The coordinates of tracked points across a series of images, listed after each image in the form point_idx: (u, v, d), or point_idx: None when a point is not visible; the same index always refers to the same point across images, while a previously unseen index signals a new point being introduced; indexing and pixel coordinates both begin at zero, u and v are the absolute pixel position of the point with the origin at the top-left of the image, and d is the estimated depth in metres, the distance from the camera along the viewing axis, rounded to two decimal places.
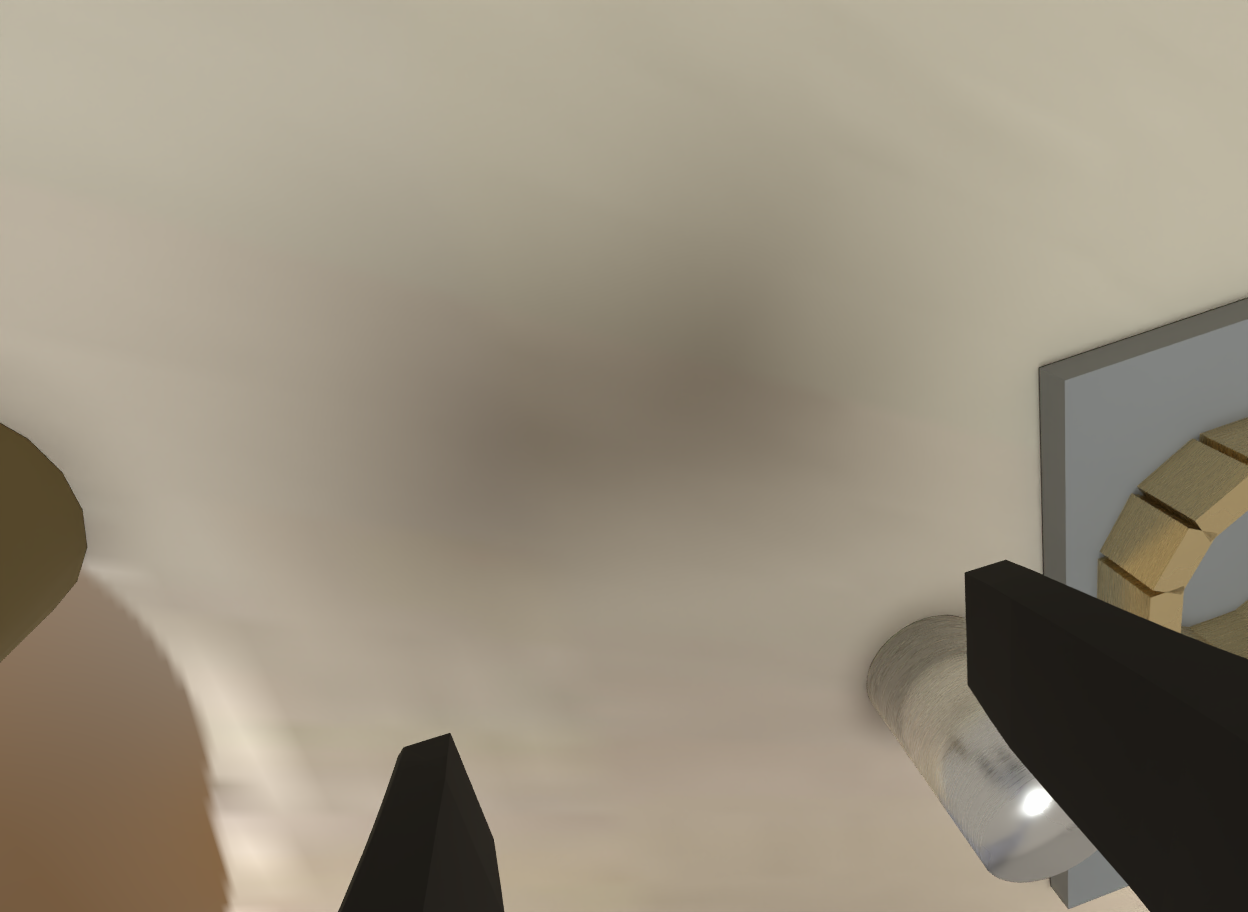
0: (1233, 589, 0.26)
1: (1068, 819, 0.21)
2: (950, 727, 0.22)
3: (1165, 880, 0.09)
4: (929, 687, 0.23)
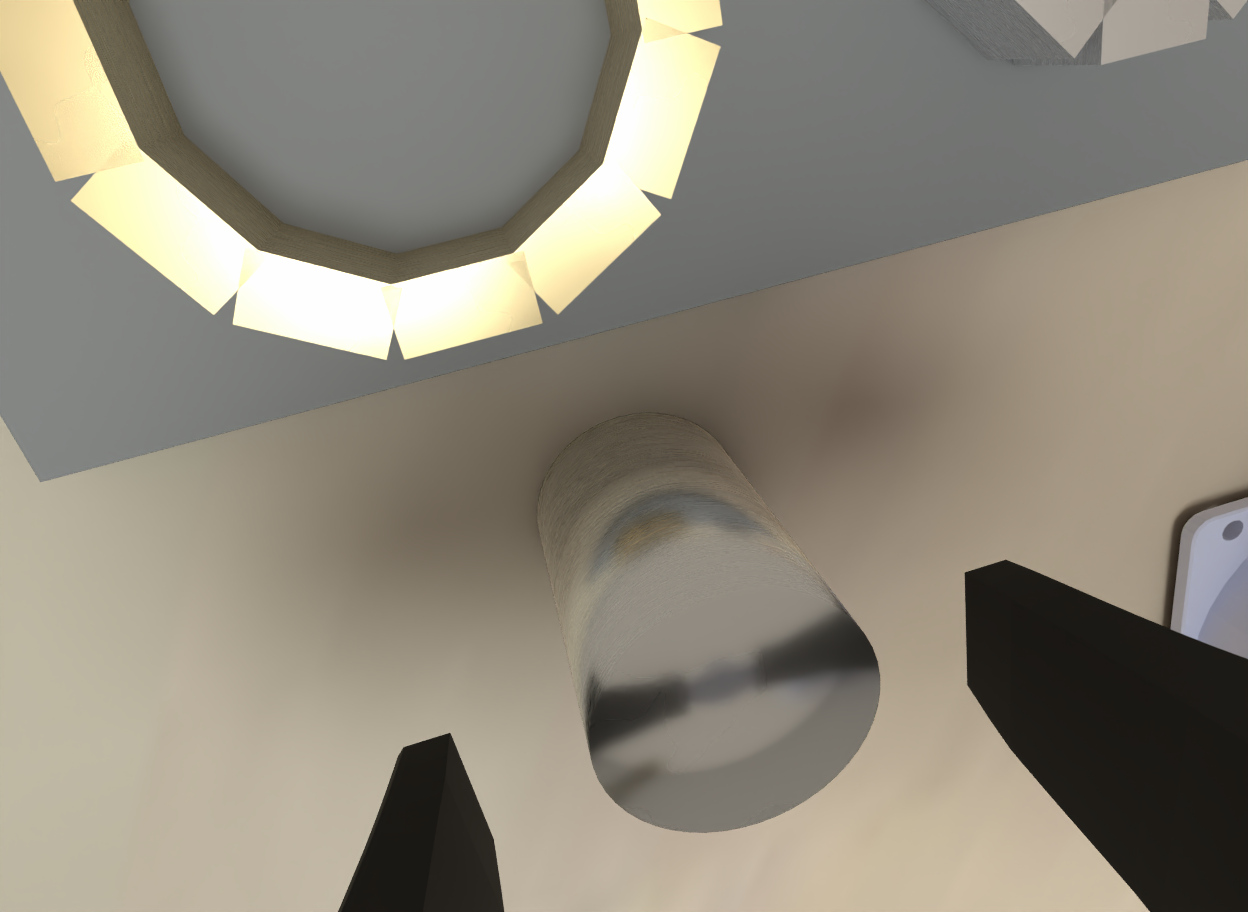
0: None
1: (734, 700, 0.11)
2: None
3: (1165, 880, 0.09)
4: None
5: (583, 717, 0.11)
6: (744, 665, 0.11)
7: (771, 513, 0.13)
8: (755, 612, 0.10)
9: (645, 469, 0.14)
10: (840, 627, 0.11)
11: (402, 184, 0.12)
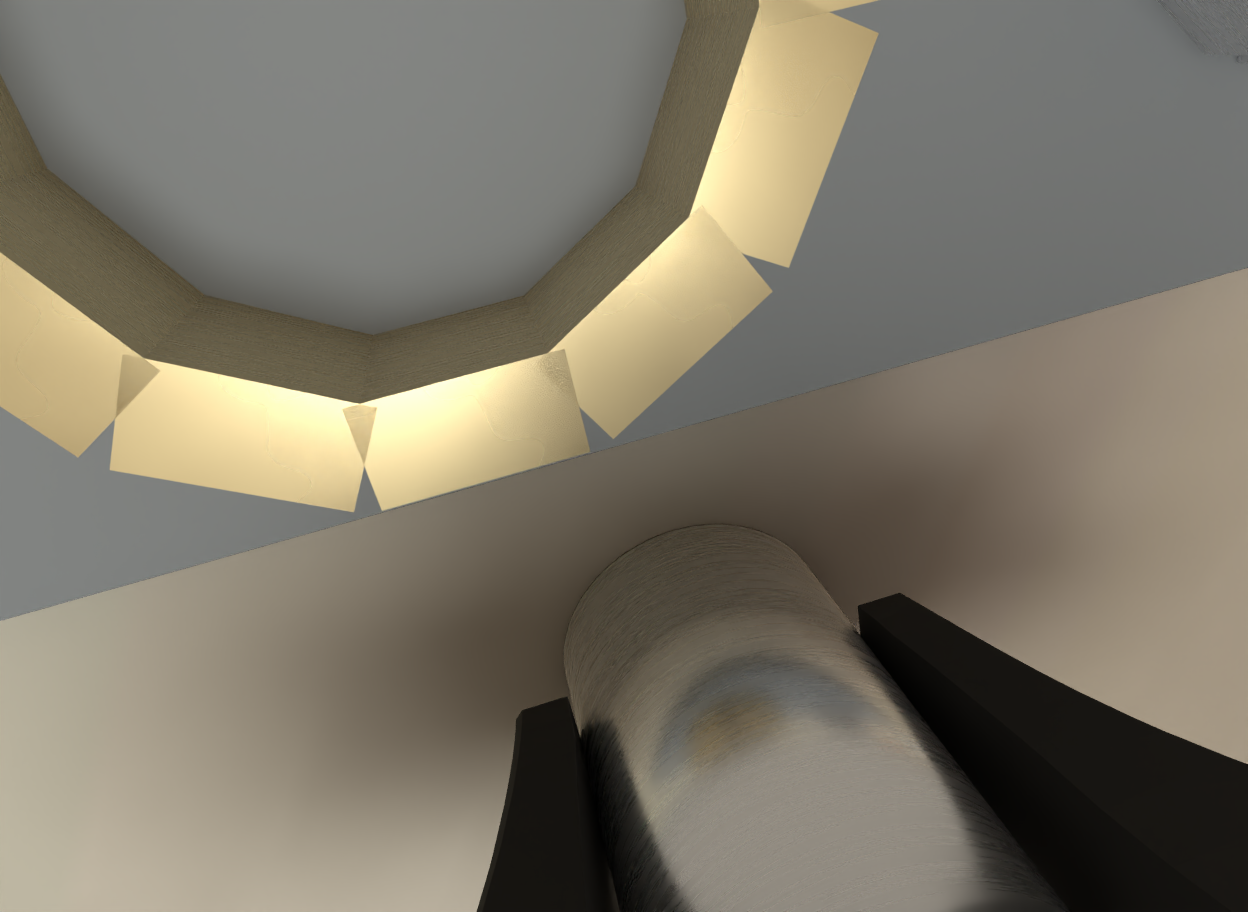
0: None
1: None
2: None
3: None
4: None
5: None
6: None
7: (900, 691, 0.10)
8: None
9: (723, 628, 0.10)
10: None
11: (380, 237, 0.08)
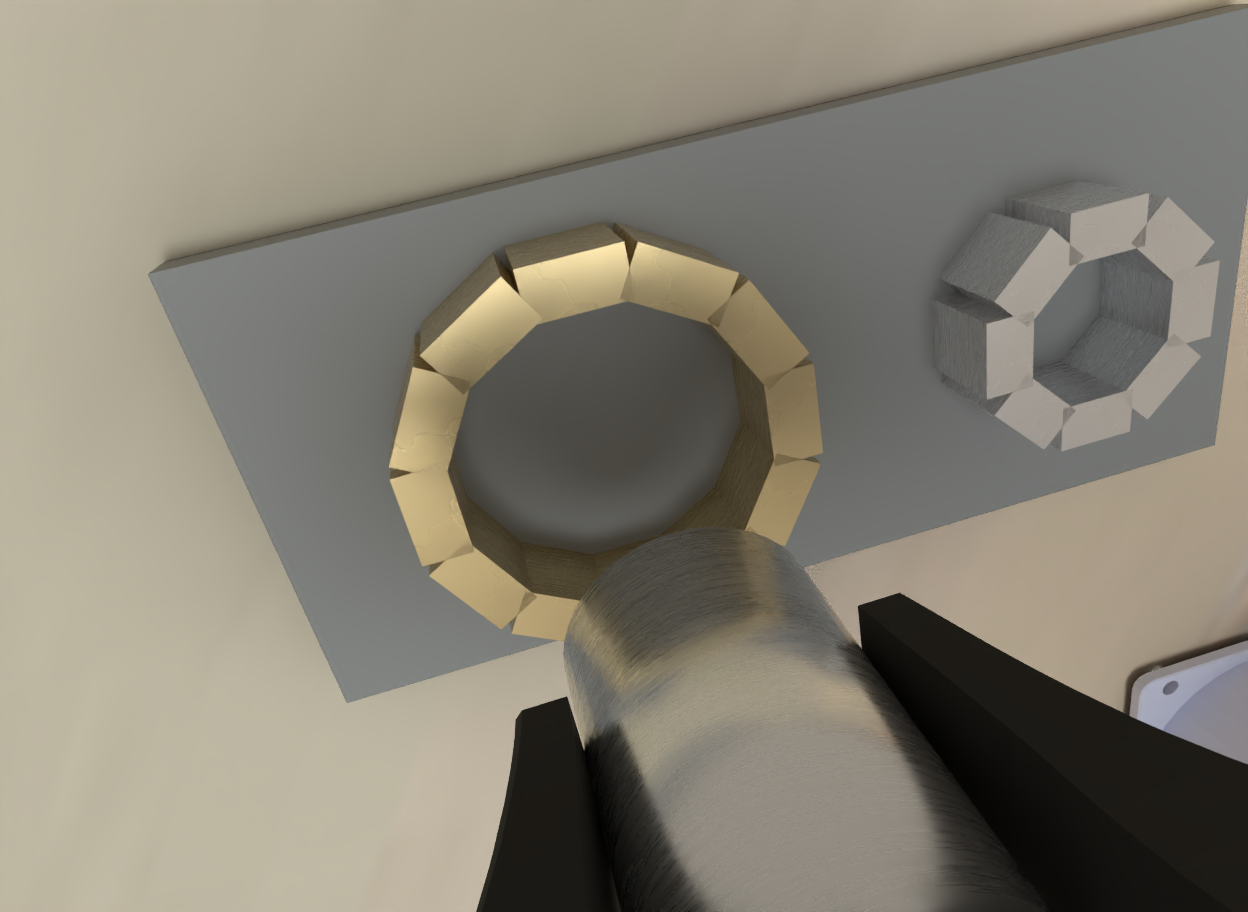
0: (690, 368, 0.17)
1: None
2: None
3: None
4: None
5: None
6: None
7: (889, 692, 0.10)
8: None
9: (717, 633, 0.10)
10: None
11: (600, 514, 0.18)
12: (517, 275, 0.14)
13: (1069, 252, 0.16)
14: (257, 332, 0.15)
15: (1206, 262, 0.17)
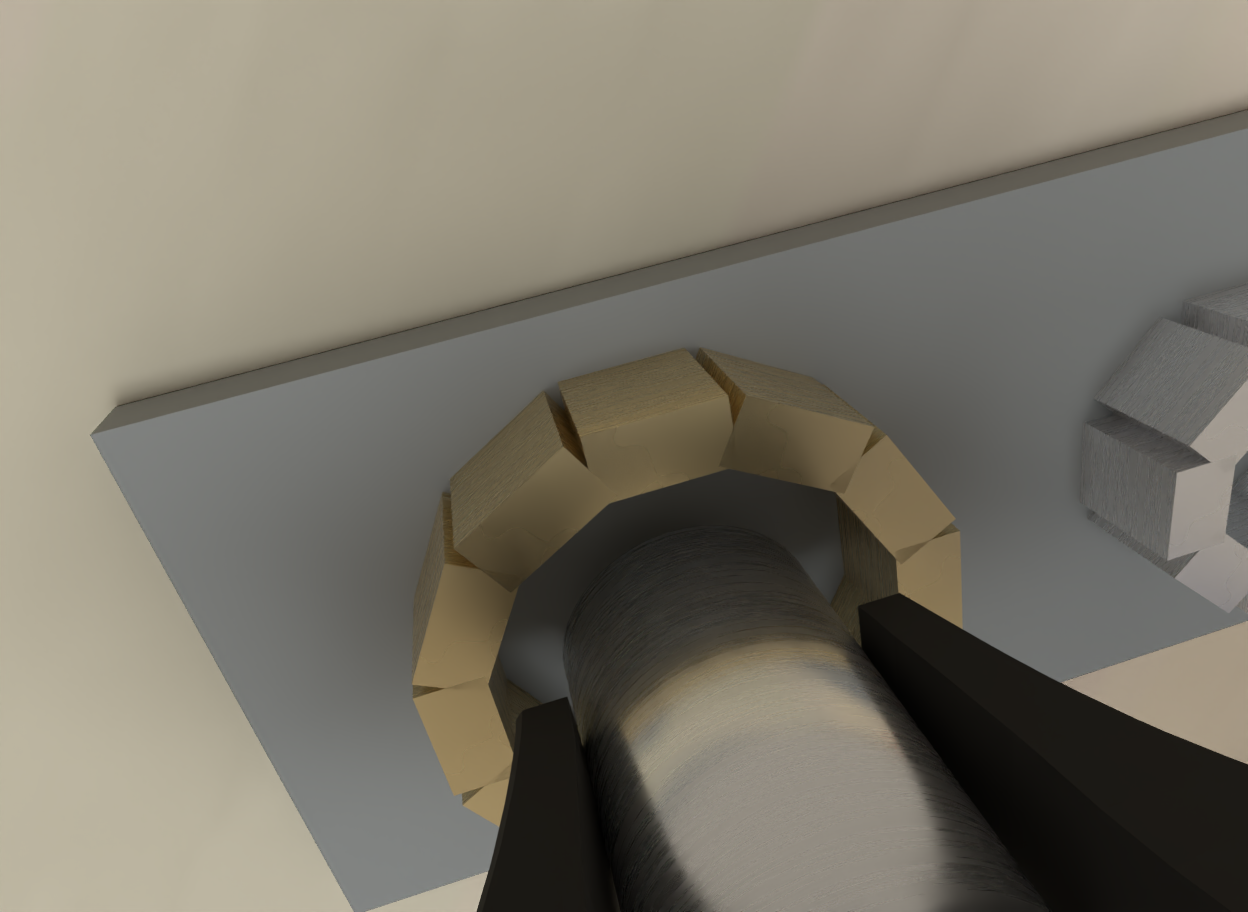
0: (786, 516, 0.14)
1: None
2: None
3: None
4: None
5: None
6: None
7: (888, 690, 0.10)
8: None
9: (716, 633, 0.10)
10: None
11: None
12: (586, 444, 0.10)
13: None
14: (236, 499, 0.12)
15: None
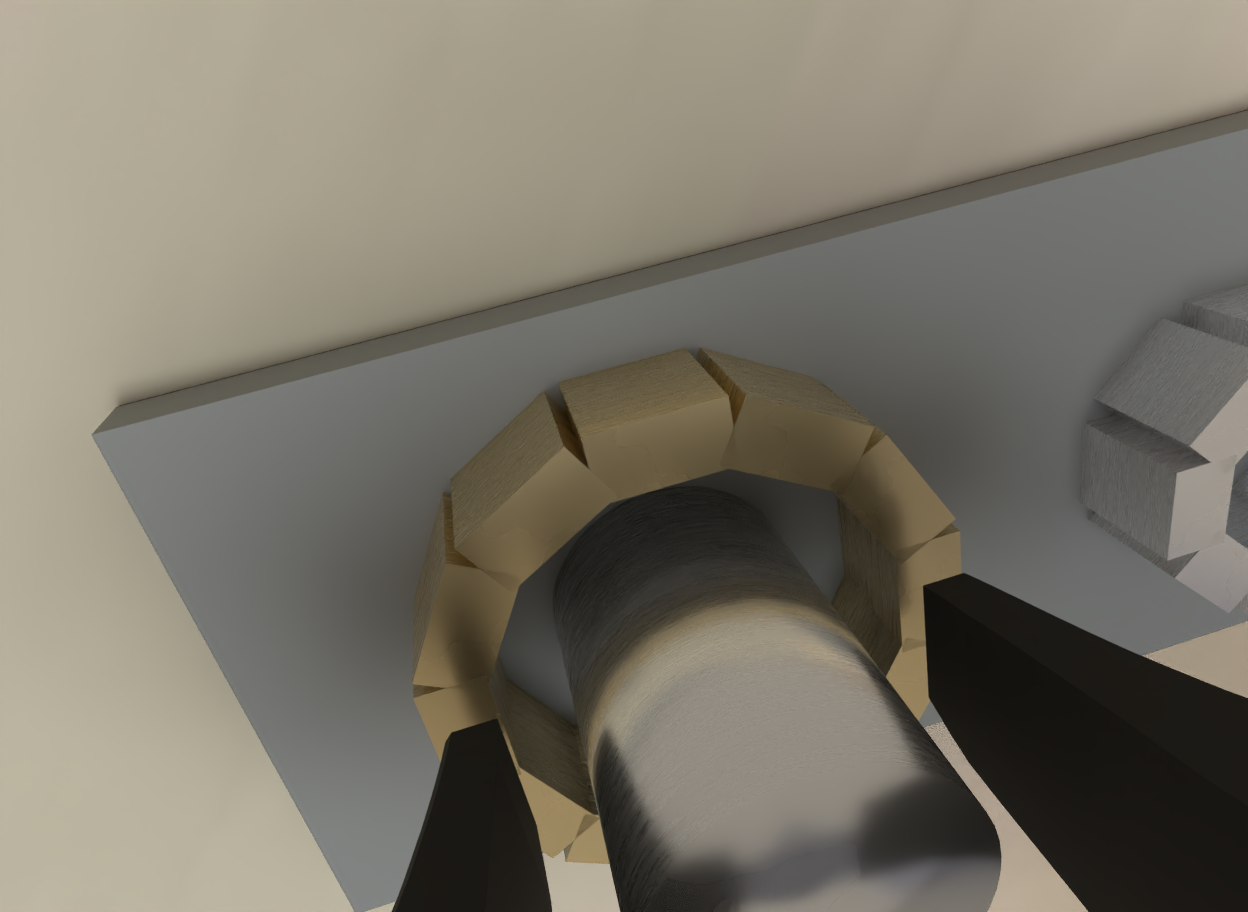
0: (786, 516, 0.14)
1: (819, 899, 0.08)
2: None
3: (1114, 898, 0.09)
4: None
5: None
6: (833, 858, 0.08)
7: (843, 623, 0.11)
8: (850, 797, 0.08)
9: (687, 571, 0.11)
10: (956, 806, 0.08)
11: None
12: (587, 444, 0.10)
13: None
14: (238, 499, 0.12)
15: None
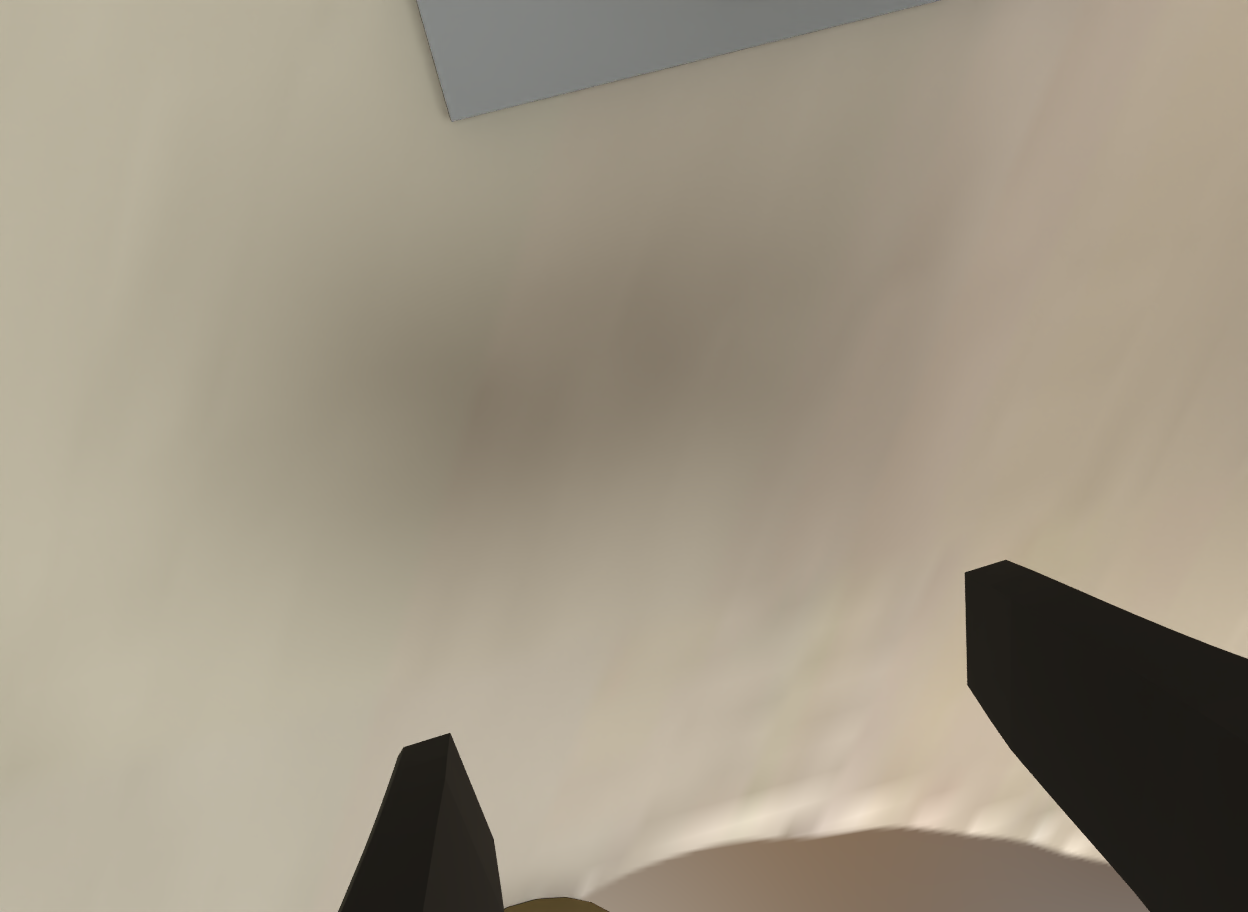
0: None
1: None
2: None
3: (1165, 880, 0.09)
4: None
5: None
6: None
7: None
8: None
9: None
10: None
11: None
12: None
13: None
14: None
15: None
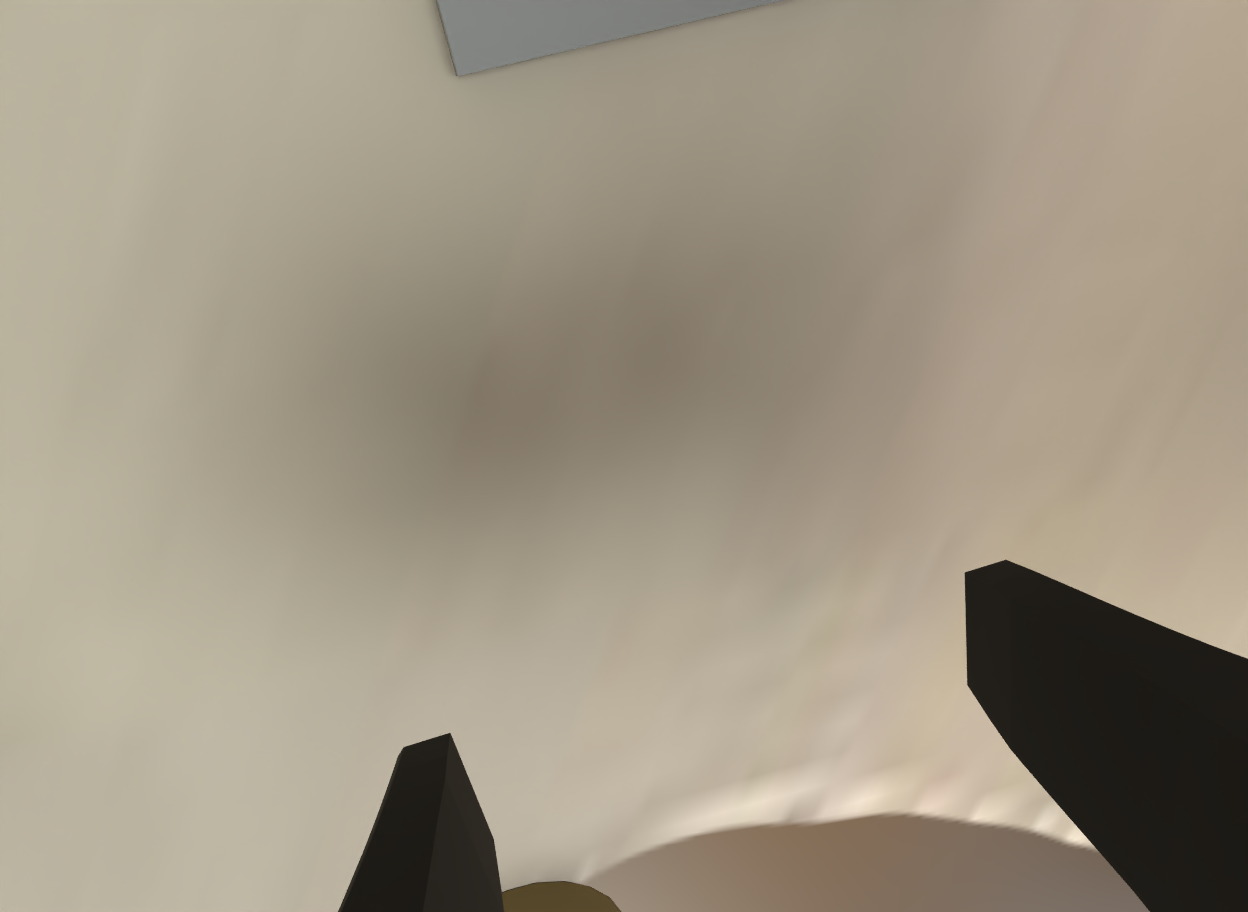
0: None
1: None
2: None
3: (1165, 880, 0.09)
4: None
5: None
6: None
7: None
8: None
9: None
10: None
11: None
12: None
13: None
14: None
15: None
